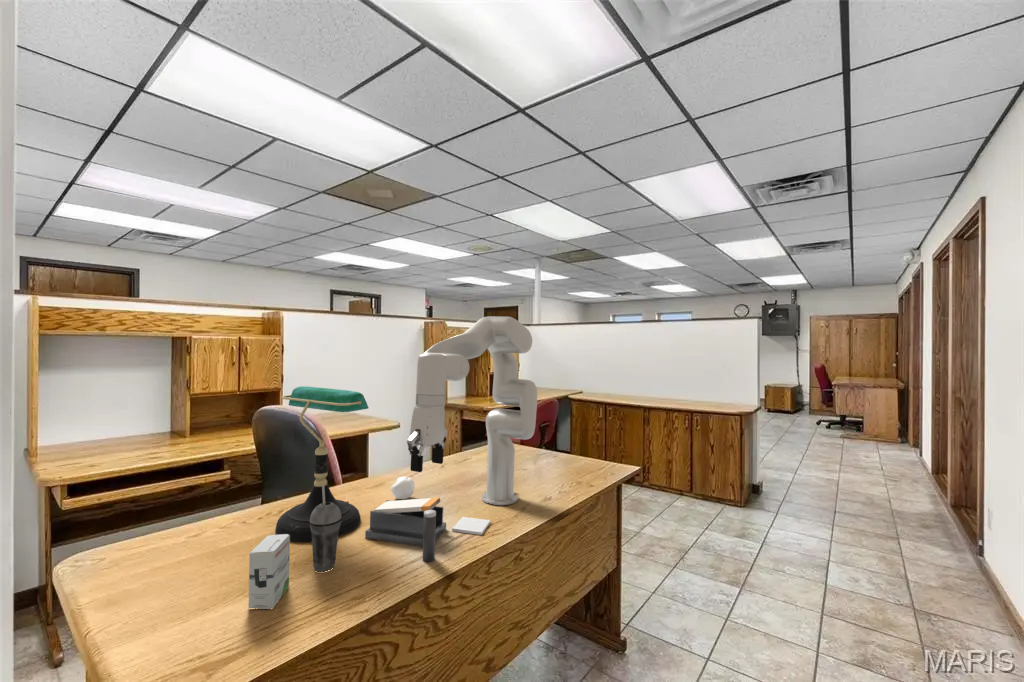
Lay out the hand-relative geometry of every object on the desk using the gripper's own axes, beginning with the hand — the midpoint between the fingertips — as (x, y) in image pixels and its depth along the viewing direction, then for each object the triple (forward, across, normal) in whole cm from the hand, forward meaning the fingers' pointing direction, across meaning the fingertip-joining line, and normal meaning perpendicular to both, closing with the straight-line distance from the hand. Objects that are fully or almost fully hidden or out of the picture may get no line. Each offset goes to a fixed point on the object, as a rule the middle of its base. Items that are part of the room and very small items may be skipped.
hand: (427, 467), depth 116 cm
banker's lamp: (+23, -2, -37) cm, 44 cm away
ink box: (+24, +30, -18) cm, 42 cm away
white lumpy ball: (+22, -31, -29) cm, 47 cm away
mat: (+22, -20, +3) cm, 30 cm away
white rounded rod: (+22, +2, +3) cm, 23 cm away
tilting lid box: (+22, -8, -11) cm, 26 cm away
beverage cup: (+23, +16, -17) cm, 33 cm away
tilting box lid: (+14, -8, -11) cm, 19 cm away
